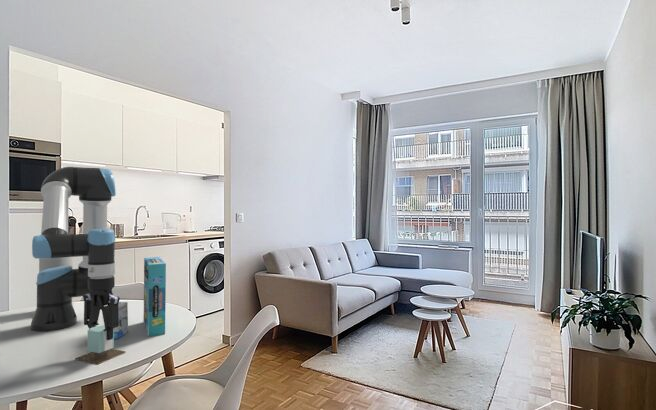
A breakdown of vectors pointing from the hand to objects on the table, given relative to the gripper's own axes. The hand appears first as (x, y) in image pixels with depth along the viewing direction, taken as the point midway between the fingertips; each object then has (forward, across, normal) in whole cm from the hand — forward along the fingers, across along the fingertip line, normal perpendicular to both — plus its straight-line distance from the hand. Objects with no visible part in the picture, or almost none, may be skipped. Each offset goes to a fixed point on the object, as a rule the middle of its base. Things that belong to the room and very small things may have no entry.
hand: (100, 348), depth 123 cm
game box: (+3, -6, +28) cm, 29 cm away
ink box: (+3, -12, +16) cm, 20 cm away
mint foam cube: (0, 0, 0) cm, 0 cm away
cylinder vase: (+2, -66, +30) cm, 73 cm away
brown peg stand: (+3, 0, 0) cm, 3 cm away
